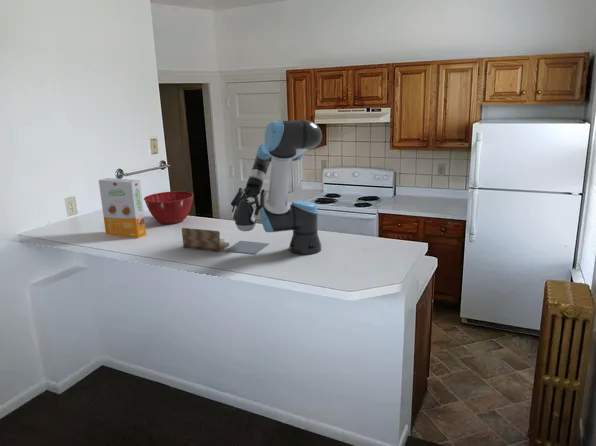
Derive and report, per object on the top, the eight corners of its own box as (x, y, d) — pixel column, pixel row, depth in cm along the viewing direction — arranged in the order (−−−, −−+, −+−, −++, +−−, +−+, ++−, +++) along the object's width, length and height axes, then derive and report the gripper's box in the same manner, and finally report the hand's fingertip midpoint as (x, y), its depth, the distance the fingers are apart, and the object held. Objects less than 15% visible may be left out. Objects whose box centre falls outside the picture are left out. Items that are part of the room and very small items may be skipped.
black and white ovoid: (253, 233, 218) (252, 202, 214) (232, 232, 220) (230, 201, 216) (259, 227, 228) (258, 197, 224) (239, 226, 230) (237, 196, 226)
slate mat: (269, 244, 230) (269, 243, 230) (254, 254, 216) (254, 253, 216) (240, 241, 236) (240, 240, 236) (224, 251, 222) (224, 250, 221)
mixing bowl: (166, 230, 258) (164, 203, 254) (136, 223, 275) (133, 197, 271) (205, 219, 280) (203, 194, 276) (175, 213, 297) (172, 189, 293)
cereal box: (146, 235, 250) (139, 180, 242) (138, 238, 245) (131, 182, 237) (114, 231, 259) (107, 178, 251) (105, 234, 254) (98, 180, 246)
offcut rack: (229, 245, 229) (228, 226, 227) (218, 251, 220) (217, 231, 218) (194, 241, 237) (193, 223, 234) (183, 247, 228) (181, 228, 225)
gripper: (278, 186, 229) (266, 225, 219) (238, 183, 237) (225, 221, 227) (274, 177, 223) (261, 217, 213) (233, 175, 230) (218, 213, 221)
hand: (242, 219), depth 220 cm, fingers closed on black and white ovoid, 10 cm apart
